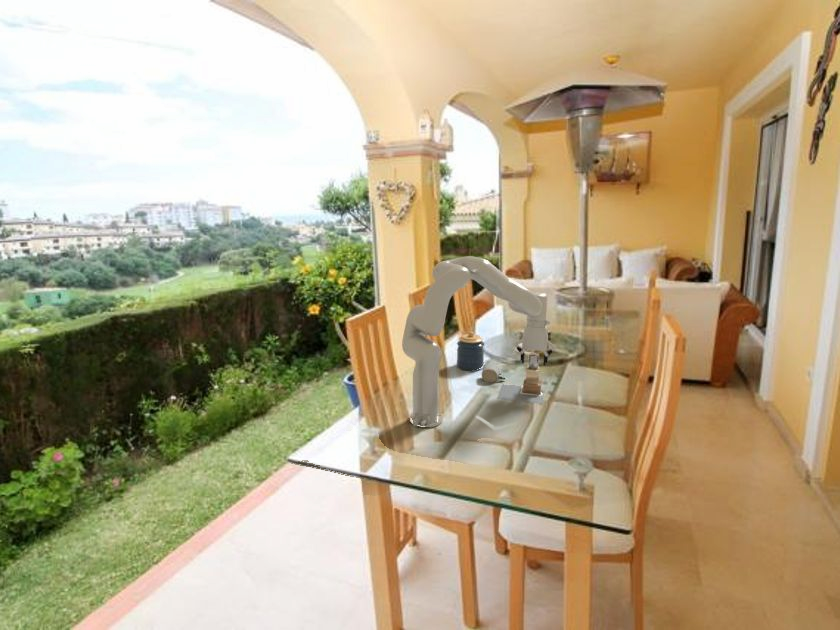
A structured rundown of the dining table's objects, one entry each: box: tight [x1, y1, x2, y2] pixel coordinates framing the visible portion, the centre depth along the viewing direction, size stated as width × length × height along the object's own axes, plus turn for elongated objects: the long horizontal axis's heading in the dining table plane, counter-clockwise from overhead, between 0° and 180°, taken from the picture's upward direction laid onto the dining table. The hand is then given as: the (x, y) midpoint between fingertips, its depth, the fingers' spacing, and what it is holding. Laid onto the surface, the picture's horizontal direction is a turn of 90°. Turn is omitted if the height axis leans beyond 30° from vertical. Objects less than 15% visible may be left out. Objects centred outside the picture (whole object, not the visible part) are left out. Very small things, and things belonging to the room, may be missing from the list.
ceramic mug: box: [481, 361, 504, 383], centre depth 216 cm, size 11×8×8 cm
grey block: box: [527, 352, 540, 370], centre depth 202 cm, size 4×4×6 cm
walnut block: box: [522, 377, 543, 395], centre depth 204 cm, size 7×7×4 cm
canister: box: [456, 331, 485, 372], centre depth 233 cm, size 13×13×18 cm
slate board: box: [496, 384, 545, 405], centre depth 203 cm, size 18×18×1 cm
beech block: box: [525, 365, 540, 385], centre depth 203 cm, size 5×5×6 cm
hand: (533, 363), depth 202 cm, fingers open, 8 cm apart
